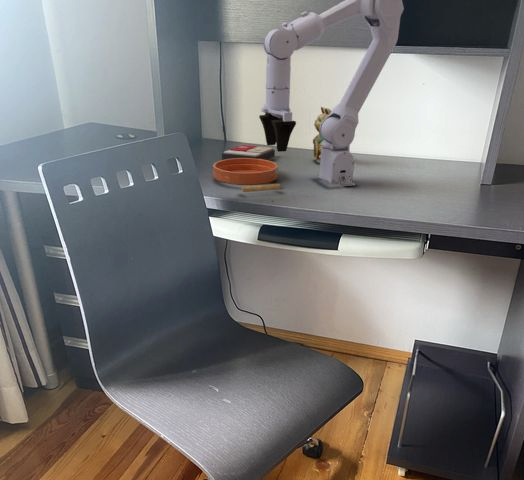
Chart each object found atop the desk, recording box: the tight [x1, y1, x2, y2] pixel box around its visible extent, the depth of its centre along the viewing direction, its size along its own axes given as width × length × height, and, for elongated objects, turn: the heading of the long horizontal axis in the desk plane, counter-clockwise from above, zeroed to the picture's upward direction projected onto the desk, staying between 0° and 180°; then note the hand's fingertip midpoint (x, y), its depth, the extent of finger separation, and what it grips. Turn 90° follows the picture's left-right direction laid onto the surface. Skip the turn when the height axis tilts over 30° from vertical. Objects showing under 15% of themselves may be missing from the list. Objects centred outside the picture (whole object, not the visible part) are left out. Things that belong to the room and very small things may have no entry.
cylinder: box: [240, 183, 282, 193], centre depth 131 cm, size 10×2×2 cm, turn 109°
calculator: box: [221, 144, 276, 161], centre depth 158 cm, size 11×4×15 cm
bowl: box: [212, 158, 279, 186], centre depth 141 cm, size 17×17×4 cm
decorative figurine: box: [312, 106, 332, 164], centre depth 158 cm, size 10×8×15 cm
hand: (276, 148), depth 135 cm, fingers open, 7 cm apart
